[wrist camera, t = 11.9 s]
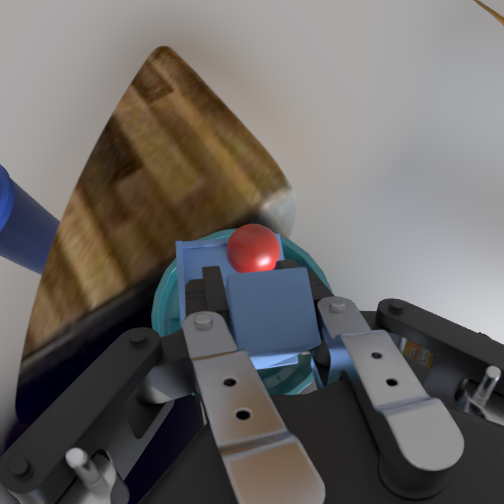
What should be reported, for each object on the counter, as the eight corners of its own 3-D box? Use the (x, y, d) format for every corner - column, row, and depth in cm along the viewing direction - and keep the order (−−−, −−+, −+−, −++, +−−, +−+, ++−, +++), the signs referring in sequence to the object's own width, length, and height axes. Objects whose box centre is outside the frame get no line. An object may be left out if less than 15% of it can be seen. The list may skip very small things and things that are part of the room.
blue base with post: (296, 363, 19) (384, 332, 9) (188, 376, 18) (159, 364, 8) (274, 240, 22) (322, 123, 12) (177, 247, 21) (156, 127, 11)
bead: (215, 274, 18) (234, 221, 17) (222, 258, 21) (238, 212, 20) (268, 293, 18) (290, 242, 18) (268, 274, 21) (286, 230, 21)
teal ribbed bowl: (176, 405, 29) (165, 418, 23) (159, 257, 33) (145, 239, 27) (327, 383, 30) (348, 391, 25) (303, 240, 34) (318, 219, 29)
